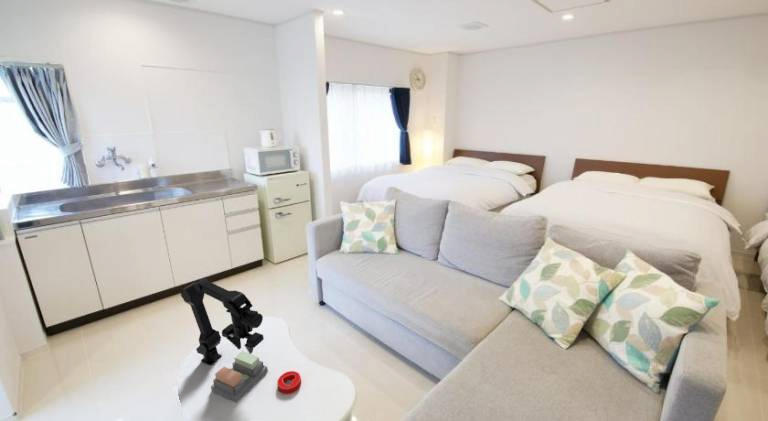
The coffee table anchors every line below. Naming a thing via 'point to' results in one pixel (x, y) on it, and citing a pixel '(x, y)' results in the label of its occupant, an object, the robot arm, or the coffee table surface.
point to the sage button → (247, 360)
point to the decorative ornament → (286, 377)
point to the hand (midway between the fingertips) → (245, 351)
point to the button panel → (244, 386)
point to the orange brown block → (228, 377)
